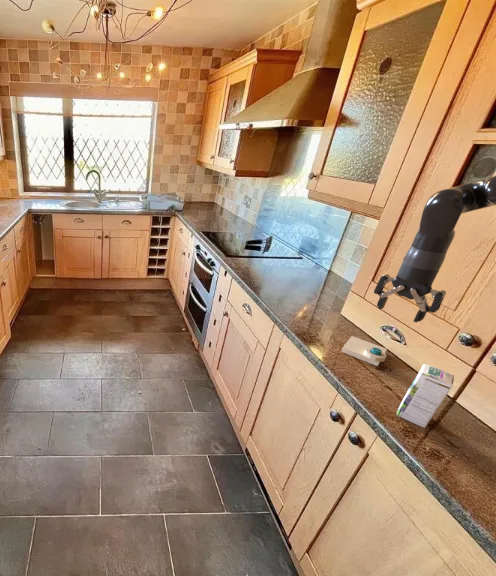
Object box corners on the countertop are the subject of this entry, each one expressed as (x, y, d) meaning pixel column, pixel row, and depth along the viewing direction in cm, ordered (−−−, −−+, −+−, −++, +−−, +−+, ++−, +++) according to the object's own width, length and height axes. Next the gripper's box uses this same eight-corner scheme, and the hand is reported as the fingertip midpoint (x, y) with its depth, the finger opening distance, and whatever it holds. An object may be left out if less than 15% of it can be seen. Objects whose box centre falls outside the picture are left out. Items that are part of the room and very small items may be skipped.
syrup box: (399, 403, 84) (422, 362, 78) (428, 416, 80) (455, 373, 74) (395, 415, 81) (419, 373, 74) (426, 429, 77) (453, 385, 70)
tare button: (381, 353, 99) (382, 349, 98) (379, 356, 97) (380, 353, 97) (371, 350, 100) (373, 346, 100) (369, 353, 99) (371, 349, 98)
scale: (388, 354, 103) (392, 346, 101) (380, 369, 97) (384, 360, 95) (350, 340, 110) (353, 332, 109) (340, 352, 104) (343, 344, 103)
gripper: (462, 269, 80) (434, 322, 87) (395, 253, 91) (375, 301, 98) (451, 275, 76) (423, 330, 84) (383, 258, 87) (363, 307, 95)
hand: (397, 314), depth 91 cm, fingers open, 8 cm apart
